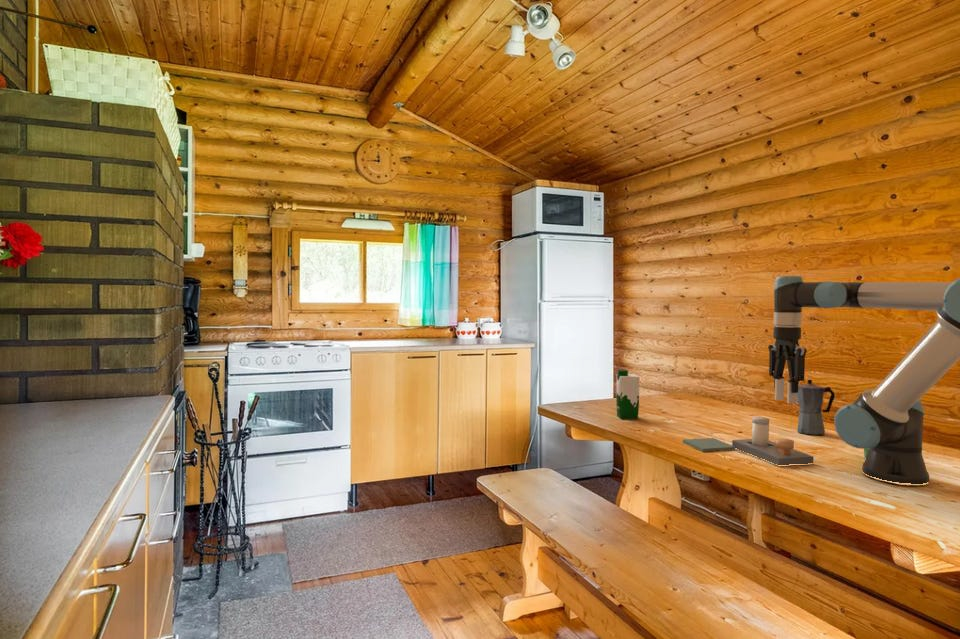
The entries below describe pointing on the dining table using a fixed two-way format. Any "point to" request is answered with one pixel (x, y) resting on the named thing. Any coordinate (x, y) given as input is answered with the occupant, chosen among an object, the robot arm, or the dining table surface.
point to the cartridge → (760, 431)
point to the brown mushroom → (784, 446)
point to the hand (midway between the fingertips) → (785, 401)
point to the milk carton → (627, 395)
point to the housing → (772, 453)
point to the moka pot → (812, 408)
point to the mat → (708, 444)
